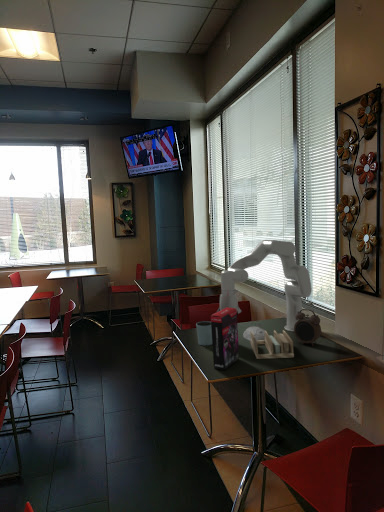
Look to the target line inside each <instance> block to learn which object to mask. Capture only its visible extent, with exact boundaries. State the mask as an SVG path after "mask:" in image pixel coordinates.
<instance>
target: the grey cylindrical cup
mask: <svg viewBox="0 0 384 512" xmlns="http://www.w3.org/2000/svg"><path fill="white" fill-rule="evenodd" d="M195 326H196V333H197V341H198V342H197V344H198V345H200V346H206V345H207V346H211V345H212V329H211V321H210V320H209V321H208V320H207V321H205V320H203V321H198V322H196V324H195Z"/></svg>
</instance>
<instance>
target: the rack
mask: <svg viewBox="0 0 384 512" xmlns="http://www.w3.org/2000/svg"><path fill="white" fill-rule="evenodd" d="M278 334H279V333H278V332H277V331H276V330H275V329H274V330H273V338H274V339H275V340H276V341H277V342H278V343H279V344H280V353H279V354H274V353H273V342H272V340H271V338H270V337H269V333H268V332H267V330H265V340H260V341H256V339H255V337H254V335H253V332H252V331H251V341H250V346H251V348H252V351H253V353H254V355H255V358H256V359H259V360H260V359H261V360H262V359H280V358H281V359H283V358H284V359H285V358H288V359H289V358H290V359H291V358H294V357H295V353H294V341H293V340H292V338H291V337H290V335H289V334H288V333H287V332H286V331H285V329H282V334H283V336H284V337H285V338H286V340H287V341H288V342H289V353H283V341H282V340H281V338H280V337H279V335H278ZM259 345H265V347H266V349H267V351H268V353H259V349H258V348H259V347H258V346H259Z"/></svg>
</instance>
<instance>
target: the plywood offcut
mask: <svg viewBox="0 0 384 512" xmlns="http://www.w3.org/2000/svg"><path fill="white" fill-rule="evenodd" d="M277 334H278V335H279V337H280V338H281V340H282V341H283V353H289V342H288V341H287V340H286V338H285V337H284V336H283V333H277Z"/></svg>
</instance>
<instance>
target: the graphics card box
mask: <svg viewBox="0 0 384 512" xmlns="http://www.w3.org/2000/svg"><path fill="white" fill-rule="evenodd" d="M210 322H211V329H212V344H211V345H212V355H213V356H212V357H213V358H212V359H213V368H214V369H217V370H222V371H225V370H227V369H228V368H229V367H231V366H232V365H233V364H234V363H235V362H237V361H238V360H239V359H240V349H239V348H240V347H239V329H238V315H237V309H235V308H228V307H226V308H224V309H222V310H220V311H218V312H217V311H216V312H215V313H213V314H211V315H210Z"/></svg>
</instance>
